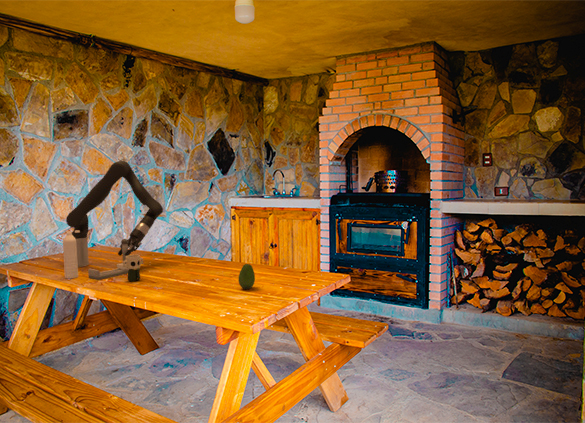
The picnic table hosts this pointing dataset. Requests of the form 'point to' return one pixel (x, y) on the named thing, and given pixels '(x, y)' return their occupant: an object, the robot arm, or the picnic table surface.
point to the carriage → (123, 253)
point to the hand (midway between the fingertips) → (122, 255)
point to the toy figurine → (133, 266)
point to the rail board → (106, 273)
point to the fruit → (246, 277)
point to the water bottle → (70, 256)
